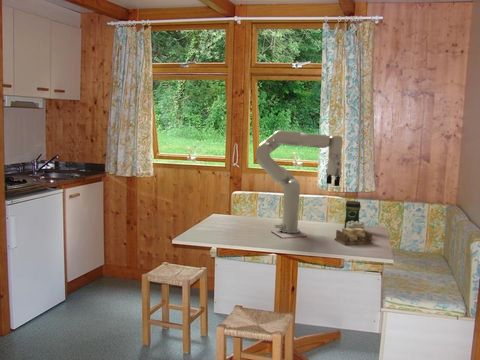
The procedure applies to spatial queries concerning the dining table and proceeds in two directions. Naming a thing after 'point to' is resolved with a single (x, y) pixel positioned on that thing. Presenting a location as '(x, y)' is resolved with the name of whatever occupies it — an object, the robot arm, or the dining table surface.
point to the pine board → (354, 232)
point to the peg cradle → (353, 239)
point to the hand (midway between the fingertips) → (332, 184)
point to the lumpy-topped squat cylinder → (355, 225)
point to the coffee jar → (352, 211)
